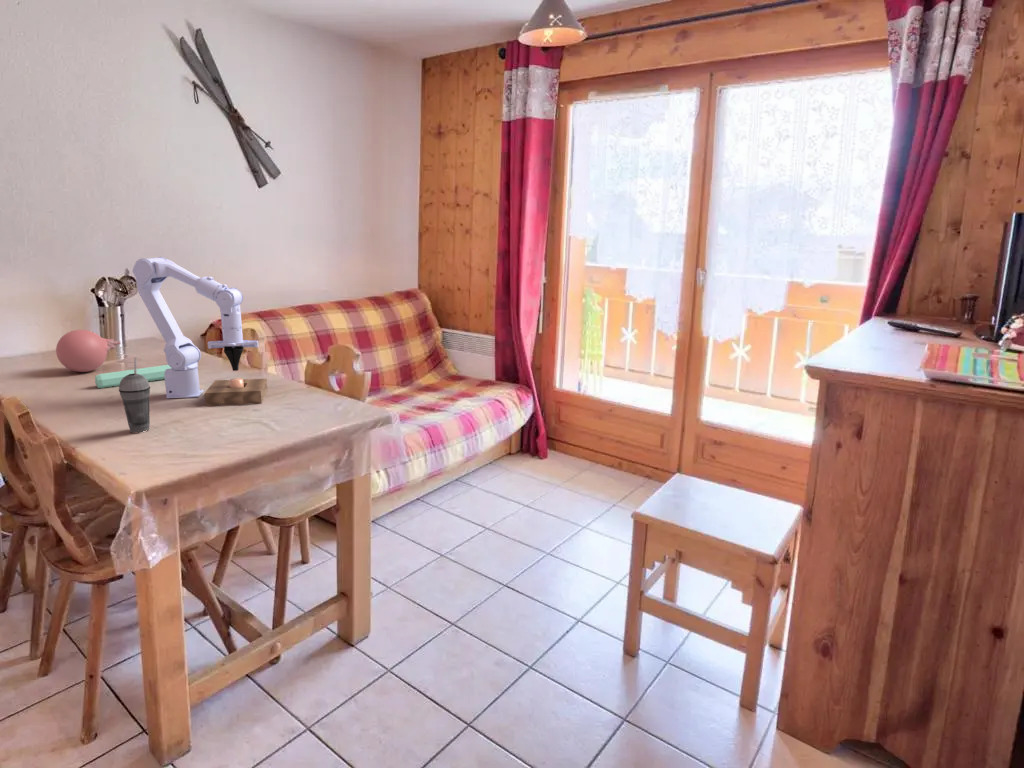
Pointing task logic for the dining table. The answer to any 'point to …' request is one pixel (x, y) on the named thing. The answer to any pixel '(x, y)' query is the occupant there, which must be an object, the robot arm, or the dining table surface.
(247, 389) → the walnut bore block
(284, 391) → the dining table surface
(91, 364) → the balloon
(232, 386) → the terracotta plug
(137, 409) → the beverage cup
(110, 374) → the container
